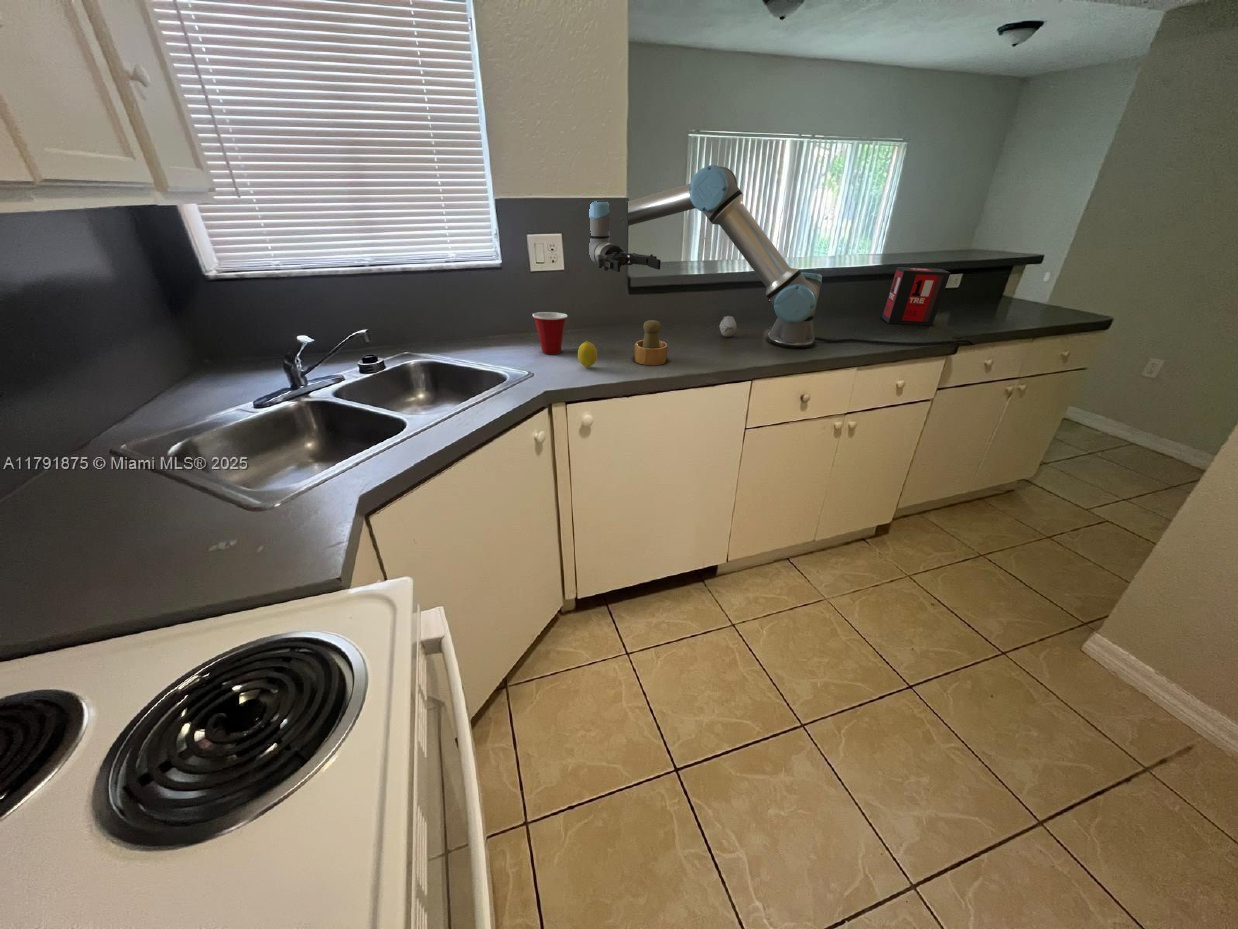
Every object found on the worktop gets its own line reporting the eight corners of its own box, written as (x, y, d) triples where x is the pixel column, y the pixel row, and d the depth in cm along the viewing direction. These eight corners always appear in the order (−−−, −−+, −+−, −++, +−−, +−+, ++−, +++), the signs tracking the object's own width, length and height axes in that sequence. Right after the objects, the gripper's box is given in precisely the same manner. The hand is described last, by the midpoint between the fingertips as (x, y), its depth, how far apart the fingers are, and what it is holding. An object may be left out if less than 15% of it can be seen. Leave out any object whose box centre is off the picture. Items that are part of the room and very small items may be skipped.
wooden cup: (667, 356, 154) (669, 340, 151) (664, 366, 146) (665, 350, 143) (637, 353, 155) (638, 338, 153) (632, 363, 147) (632, 347, 145)
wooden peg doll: (660, 354, 152) (662, 318, 147) (659, 360, 147) (662, 324, 142) (641, 353, 153) (642, 317, 147) (640, 359, 148) (641, 323, 142)
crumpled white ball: (732, 333, 178) (735, 314, 174) (737, 339, 172) (740, 319, 168) (716, 333, 178) (718, 314, 174) (720, 339, 172) (723, 319, 168)
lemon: (582, 372, 140) (582, 345, 136) (575, 366, 144) (574, 339, 140) (600, 369, 142) (600, 342, 138) (592, 363, 146) (591, 337, 142)
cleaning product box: (924, 320, 201) (941, 268, 191) (932, 325, 194) (950, 272, 183) (881, 317, 203) (896, 266, 193) (888, 323, 196) (904, 270, 186)
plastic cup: (574, 348, 159) (573, 311, 152) (560, 358, 150) (558, 319, 144) (544, 344, 162) (542, 308, 155) (528, 354, 153) (525, 315, 147)
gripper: (642, 266, 168) (674, 276, 151) (575, 269, 158) (601, 281, 142) (643, 242, 164) (676, 250, 148) (574, 244, 154) (601, 253, 138)
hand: (639, 265), depth 145 cm, fingers open, 13 cm apart
